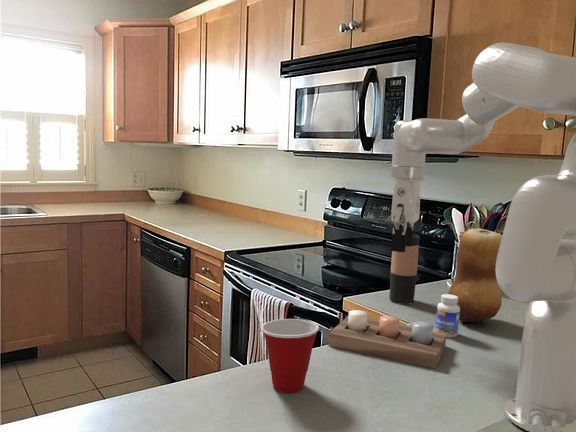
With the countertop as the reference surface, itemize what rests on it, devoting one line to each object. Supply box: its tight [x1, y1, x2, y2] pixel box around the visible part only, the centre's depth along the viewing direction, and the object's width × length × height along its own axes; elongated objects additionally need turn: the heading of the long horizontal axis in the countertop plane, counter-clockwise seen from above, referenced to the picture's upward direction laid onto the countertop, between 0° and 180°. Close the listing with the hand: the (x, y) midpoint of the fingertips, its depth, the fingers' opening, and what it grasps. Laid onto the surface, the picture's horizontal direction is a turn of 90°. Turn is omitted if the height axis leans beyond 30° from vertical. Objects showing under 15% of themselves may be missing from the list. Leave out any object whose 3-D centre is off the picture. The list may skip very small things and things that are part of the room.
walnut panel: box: [328, 315, 447, 369], centre depth 119 cm, size 14×24×3 cm, turn 65°
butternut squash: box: [447, 227, 503, 324], centre depth 138 cm, size 14×13×25 cm
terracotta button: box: [379, 315, 400, 339], centre depth 119 cm, size 4×4×4 cm
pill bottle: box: [434, 293, 460, 338], centre depth 128 cm, size 5×5×10 cm
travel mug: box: [389, 233, 420, 305], centre depth 154 cm, size 8×8×20 cm
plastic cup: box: [260, 318, 320, 394], centre depth 97 cm, size 11×11×12 cm
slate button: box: [411, 321, 434, 345], centre depth 116 cm, size 4×4×4 cm
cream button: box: [348, 309, 368, 332], centre depth 122 cm, size 4×4×4 cm
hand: (401, 248), depth 123 cm, fingers open, 7 cm apart
